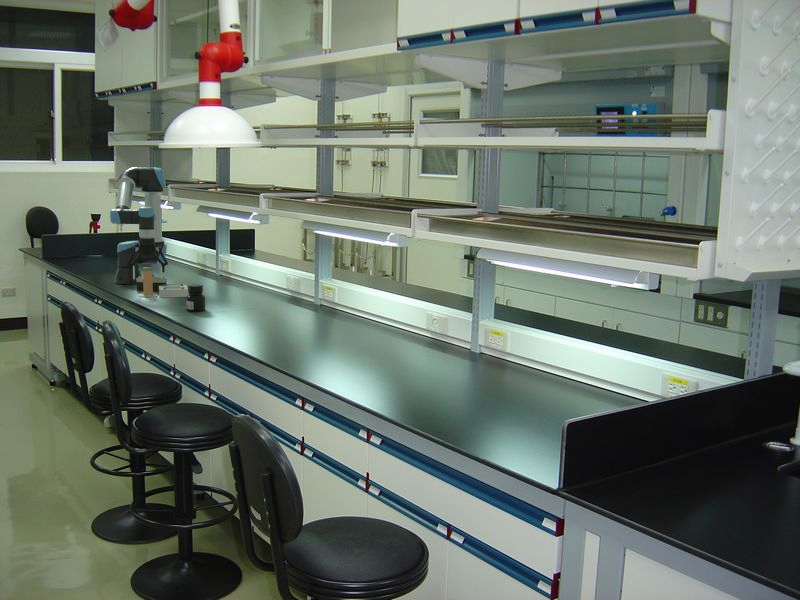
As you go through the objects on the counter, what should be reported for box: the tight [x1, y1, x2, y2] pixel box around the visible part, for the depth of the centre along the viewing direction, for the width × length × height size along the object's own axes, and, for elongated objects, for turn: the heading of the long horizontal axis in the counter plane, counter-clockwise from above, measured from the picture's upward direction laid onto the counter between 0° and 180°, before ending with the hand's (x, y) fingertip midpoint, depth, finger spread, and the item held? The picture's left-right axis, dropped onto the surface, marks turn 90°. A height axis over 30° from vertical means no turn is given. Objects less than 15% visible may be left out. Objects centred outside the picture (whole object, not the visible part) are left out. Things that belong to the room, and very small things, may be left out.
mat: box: [138, 292, 159, 298], centre depth 415 cm, size 9×9×1 cm
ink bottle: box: [185, 283, 206, 313], centre depth 378 cm, size 10×9×12 cm
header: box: [158, 283, 189, 298], centre depth 419 cm, size 14×14×5 cm
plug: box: [142, 266, 153, 296], centre depth 414 cm, size 5×5×14 cm
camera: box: [136, 273, 168, 294], centre depth 427 cm, size 16×9×10 cm, turn 90°
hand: (147, 278), depth 414 cm, fingers open, 13 cm apart
